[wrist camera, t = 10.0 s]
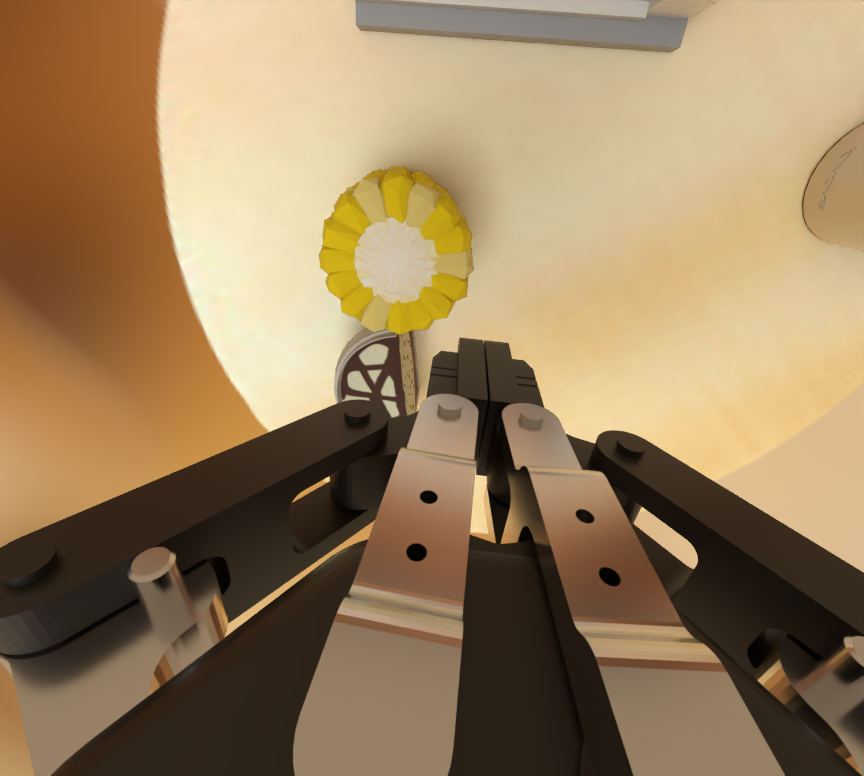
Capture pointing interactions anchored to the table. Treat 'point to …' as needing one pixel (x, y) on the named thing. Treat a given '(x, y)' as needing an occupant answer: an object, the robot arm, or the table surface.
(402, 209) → the food
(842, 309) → the table surface
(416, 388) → the chocolate cake half
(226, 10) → the table surface
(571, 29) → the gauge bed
